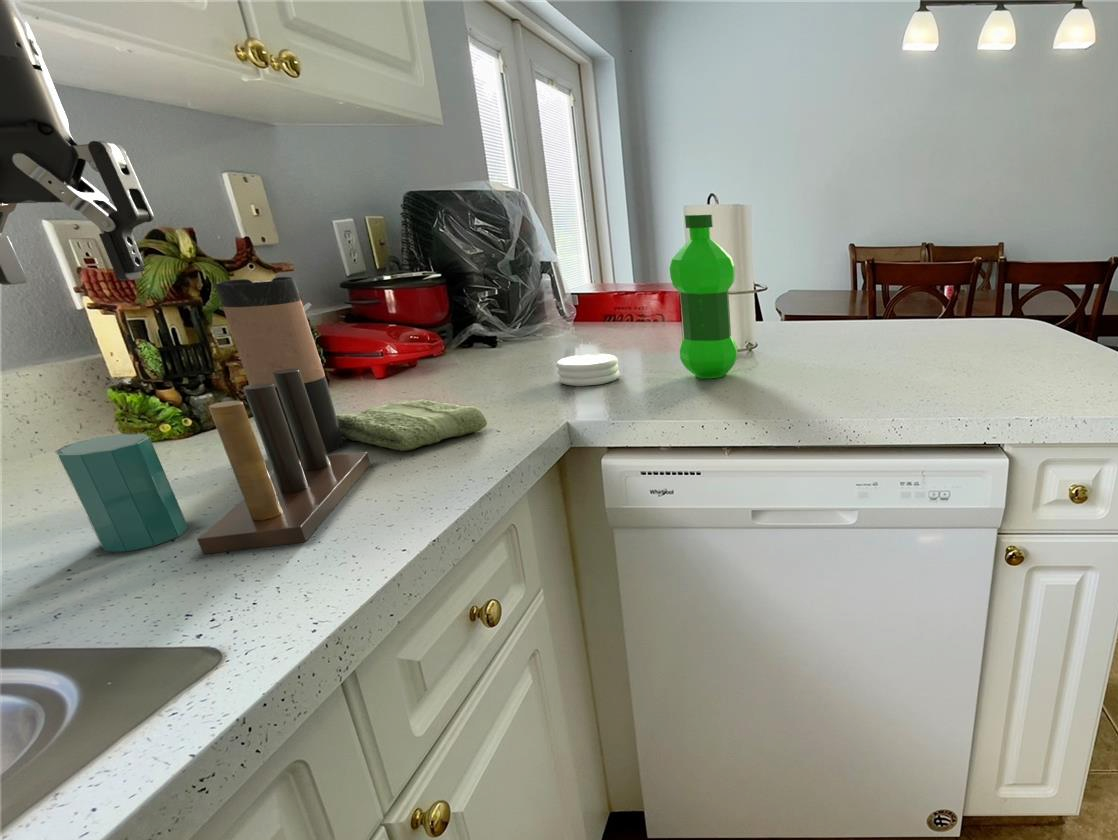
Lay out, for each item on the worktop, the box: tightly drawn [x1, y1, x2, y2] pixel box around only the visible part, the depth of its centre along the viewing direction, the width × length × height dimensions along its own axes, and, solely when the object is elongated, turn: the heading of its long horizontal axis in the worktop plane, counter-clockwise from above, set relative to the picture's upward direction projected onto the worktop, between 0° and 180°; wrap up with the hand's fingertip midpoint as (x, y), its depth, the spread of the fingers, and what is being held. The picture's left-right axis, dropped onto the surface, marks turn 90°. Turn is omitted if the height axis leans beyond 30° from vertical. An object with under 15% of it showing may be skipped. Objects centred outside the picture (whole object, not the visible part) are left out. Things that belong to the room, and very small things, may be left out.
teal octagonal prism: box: [54, 433, 189, 553], centre depth 64 cm, size 6×6×9 cm
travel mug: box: [214, 276, 344, 458], centre depth 85 cm, size 8×8×20 cm
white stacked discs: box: [555, 353, 621, 387], centre depth 119 cm, size 10×10×4 cm
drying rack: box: [196, 369, 372, 555], centre depth 70 cm, size 8×22×12 cm, turn 15°
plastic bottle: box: [669, 214, 739, 379], centre depth 116 cm, size 10×10×25 cm
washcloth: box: [336, 399, 488, 452], centre depth 93 cm, size 13×18×3 cm
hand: (73, 281), depth 60 cm, fingers open, 8 cm apart
